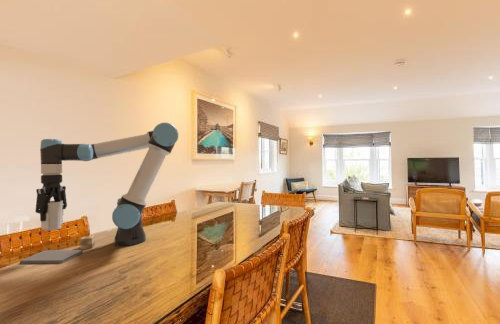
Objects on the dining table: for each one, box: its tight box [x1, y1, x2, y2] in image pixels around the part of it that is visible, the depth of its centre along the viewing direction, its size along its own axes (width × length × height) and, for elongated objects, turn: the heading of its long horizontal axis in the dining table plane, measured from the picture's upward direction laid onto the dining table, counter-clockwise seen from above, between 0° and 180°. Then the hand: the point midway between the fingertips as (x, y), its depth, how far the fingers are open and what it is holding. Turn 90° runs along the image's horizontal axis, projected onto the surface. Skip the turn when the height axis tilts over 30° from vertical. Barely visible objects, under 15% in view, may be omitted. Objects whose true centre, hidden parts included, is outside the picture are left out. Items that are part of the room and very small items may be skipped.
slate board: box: [19, 249, 84, 264], centre depth 117 cm, size 18×13×1 cm
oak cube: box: [79, 235, 96, 250], centre depth 131 cm, size 5×5×5 cm
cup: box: [42, 200, 64, 232], centre depth 117 cm, size 8×8×12 cm
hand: (52, 226), depth 117 cm, fingers closed on cup, 7 cm apart
